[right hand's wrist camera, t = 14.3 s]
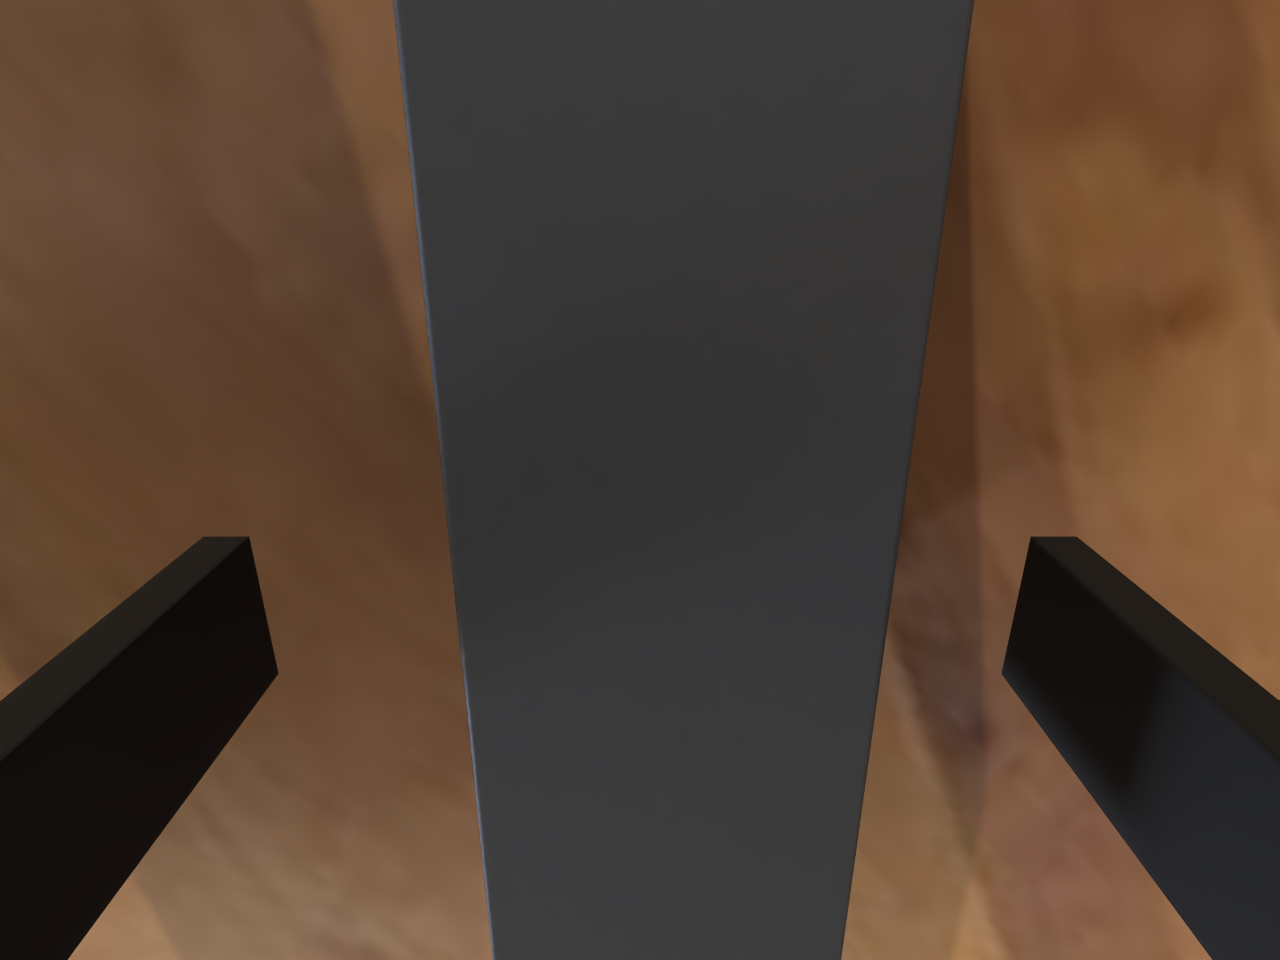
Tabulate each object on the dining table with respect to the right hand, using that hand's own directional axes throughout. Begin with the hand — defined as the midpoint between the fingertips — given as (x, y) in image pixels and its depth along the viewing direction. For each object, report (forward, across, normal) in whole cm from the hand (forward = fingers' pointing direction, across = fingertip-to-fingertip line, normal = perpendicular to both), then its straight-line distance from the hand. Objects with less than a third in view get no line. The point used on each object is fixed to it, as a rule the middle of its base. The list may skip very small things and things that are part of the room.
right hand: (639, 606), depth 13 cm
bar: (+5, 0, -12) cm, 13 cm away
